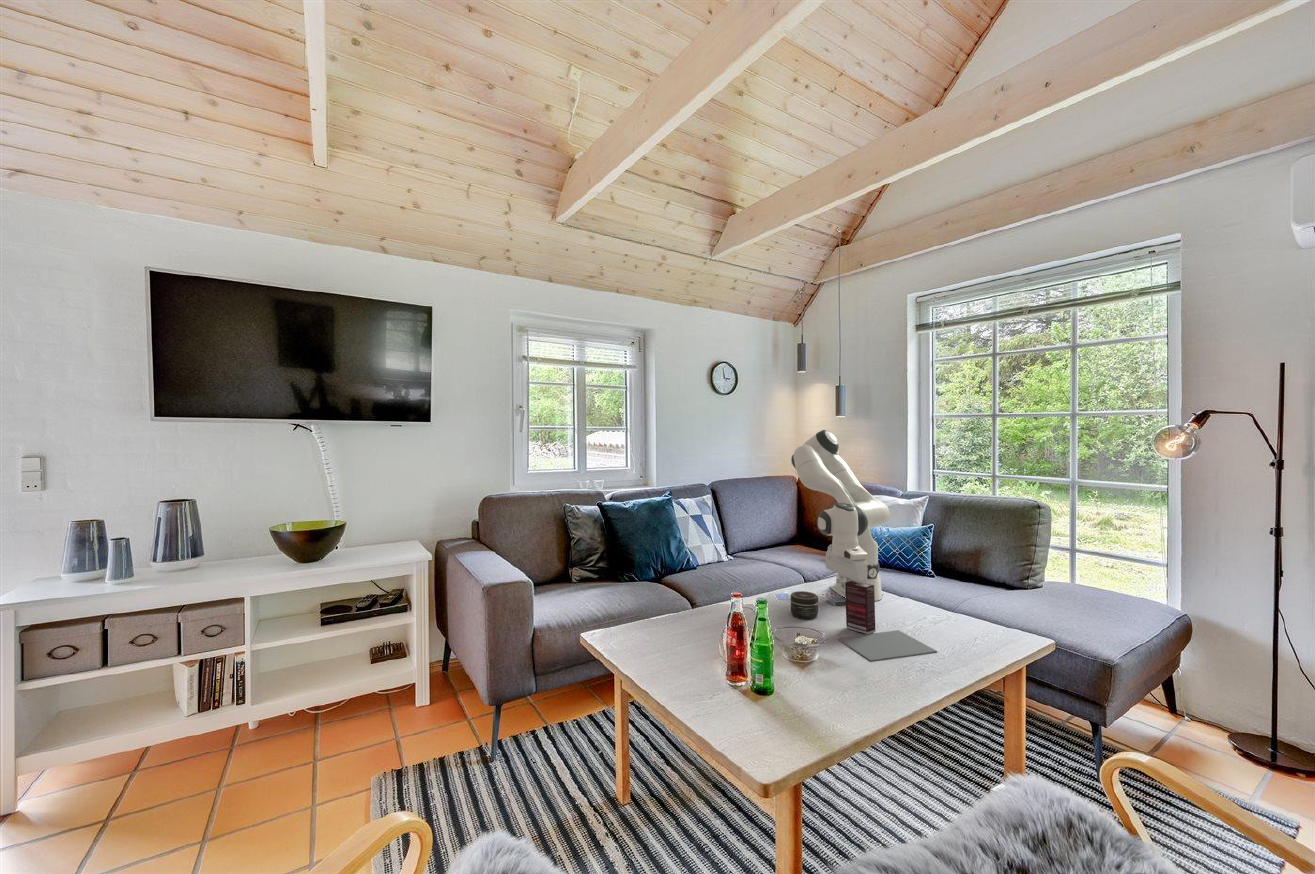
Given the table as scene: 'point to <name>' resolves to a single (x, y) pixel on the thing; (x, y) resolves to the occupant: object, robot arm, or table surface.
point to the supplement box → (860, 607)
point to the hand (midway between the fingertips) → (844, 587)
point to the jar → (804, 605)
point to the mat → (886, 645)
